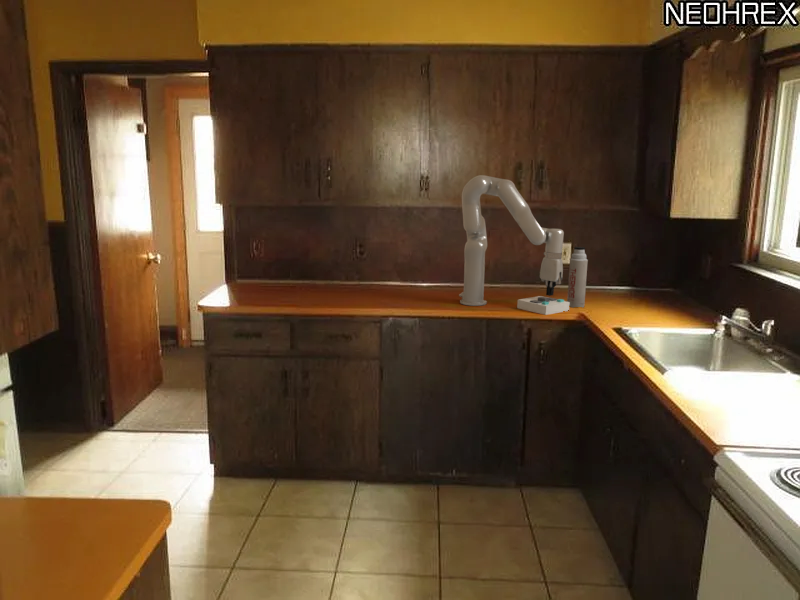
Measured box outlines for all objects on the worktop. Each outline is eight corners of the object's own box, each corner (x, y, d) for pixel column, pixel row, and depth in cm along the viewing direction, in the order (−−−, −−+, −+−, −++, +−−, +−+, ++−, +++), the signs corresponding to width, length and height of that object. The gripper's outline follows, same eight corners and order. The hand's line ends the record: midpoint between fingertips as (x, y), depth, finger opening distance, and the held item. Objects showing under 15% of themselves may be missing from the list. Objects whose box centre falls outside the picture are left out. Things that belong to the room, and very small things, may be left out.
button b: (537, 304, 304) (537, 297, 303) (542, 303, 306) (542, 296, 305) (544, 306, 301) (544, 298, 300) (549, 305, 302) (549, 298, 302)
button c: (544, 305, 307) (545, 298, 306) (549, 304, 309) (549, 297, 308) (551, 307, 304) (552, 299, 303) (556, 306, 306) (556, 299, 305)
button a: (529, 308, 301) (530, 300, 300) (534, 307, 303) (534, 299, 302) (536, 309, 298) (537, 302, 297) (541, 309, 300) (541, 301, 299)
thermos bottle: (573, 308, 307) (577, 248, 301) (563, 304, 314) (567, 246, 309) (587, 307, 310) (592, 247, 304) (577, 303, 317) (581, 245, 312)
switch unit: (517, 308, 305) (517, 297, 304) (540, 304, 315) (541, 293, 314) (545, 314, 292) (546, 303, 291) (569, 310, 302) (569, 299, 301)
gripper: (535, 254, 305) (532, 292, 309) (560, 258, 294) (557, 298, 298) (546, 253, 310) (542, 291, 314) (571, 257, 298) (567, 297, 302)
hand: (549, 295), depth 306 cm, fingers closed
